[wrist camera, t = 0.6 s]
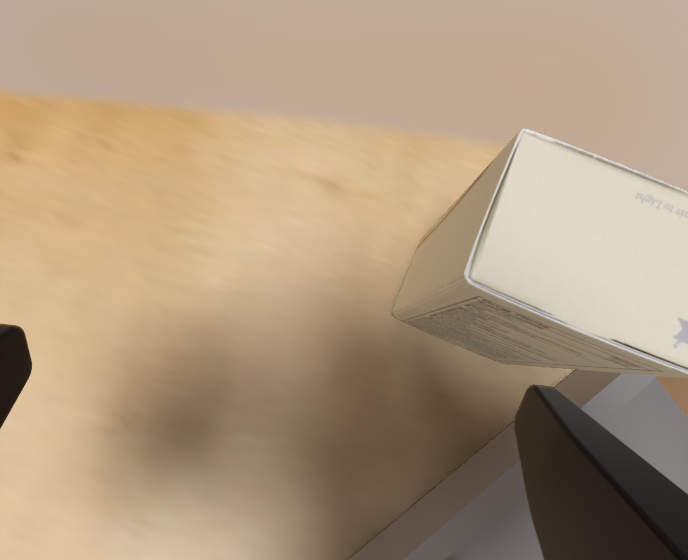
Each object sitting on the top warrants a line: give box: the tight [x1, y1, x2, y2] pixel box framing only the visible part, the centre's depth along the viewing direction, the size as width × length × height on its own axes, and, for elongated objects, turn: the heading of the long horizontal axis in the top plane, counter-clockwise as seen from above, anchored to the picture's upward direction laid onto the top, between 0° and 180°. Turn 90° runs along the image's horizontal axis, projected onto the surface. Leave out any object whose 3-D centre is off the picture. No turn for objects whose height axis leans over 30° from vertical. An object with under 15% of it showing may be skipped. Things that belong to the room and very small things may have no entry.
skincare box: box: [392, 129, 688, 379], centre depth 17 cm, size 6×4×12 cm
